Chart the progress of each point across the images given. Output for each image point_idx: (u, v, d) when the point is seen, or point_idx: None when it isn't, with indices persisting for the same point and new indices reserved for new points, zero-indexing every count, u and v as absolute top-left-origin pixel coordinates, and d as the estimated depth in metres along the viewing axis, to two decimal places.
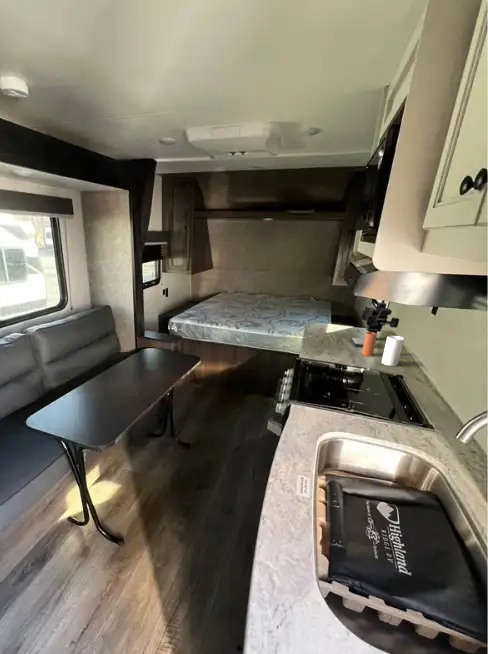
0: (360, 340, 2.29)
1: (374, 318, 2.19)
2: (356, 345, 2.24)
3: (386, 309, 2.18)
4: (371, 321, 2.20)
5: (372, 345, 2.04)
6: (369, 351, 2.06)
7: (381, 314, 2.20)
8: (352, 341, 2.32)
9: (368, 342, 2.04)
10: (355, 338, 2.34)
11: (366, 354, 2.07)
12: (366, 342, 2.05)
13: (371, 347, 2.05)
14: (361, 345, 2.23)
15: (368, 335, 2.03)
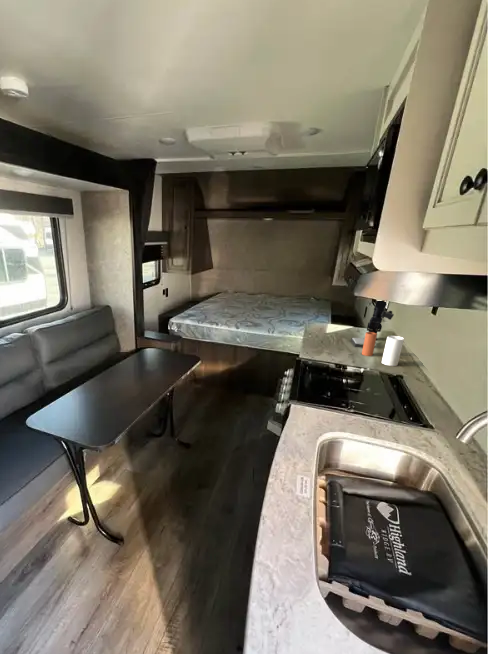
0: (360, 340, 2.29)
1: (379, 323, 2.07)
2: (356, 345, 2.24)
3: None
4: None
5: (372, 345, 2.04)
6: (369, 351, 2.06)
7: None
8: (352, 341, 2.32)
9: (368, 342, 2.04)
10: (355, 338, 2.34)
11: (366, 354, 2.07)
12: (366, 342, 2.05)
13: (371, 347, 2.05)
14: (361, 345, 2.23)
15: (368, 335, 2.03)
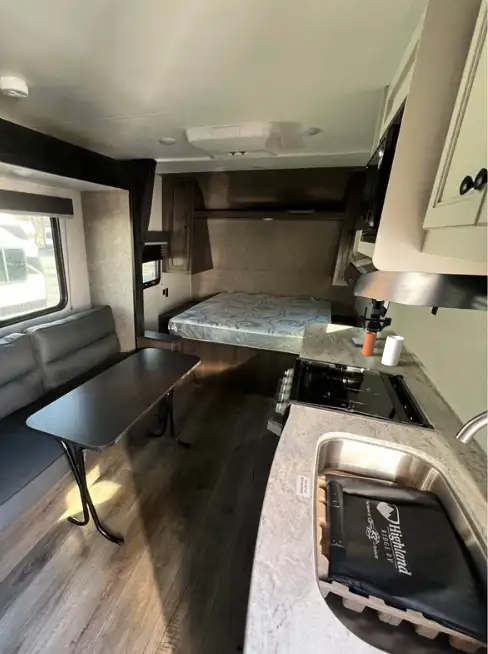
0: (360, 340, 2.29)
1: (363, 320, 2.14)
2: (356, 345, 2.24)
3: (377, 311, 2.07)
4: (361, 321, 2.17)
5: (372, 345, 2.04)
6: (369, 351, 2.06)
7: (373, 314, 2.11)
8: (352, 341, 2.32)
9: (368, 342, 2.04)
10: (355, 338, 2.34)
11: (366, 354, 2.07)
12: (366, 342, 2.05)
13: (371, 347, 2.05)
14: (361, 345, 2.23)
15: (368, 335, 2.03)
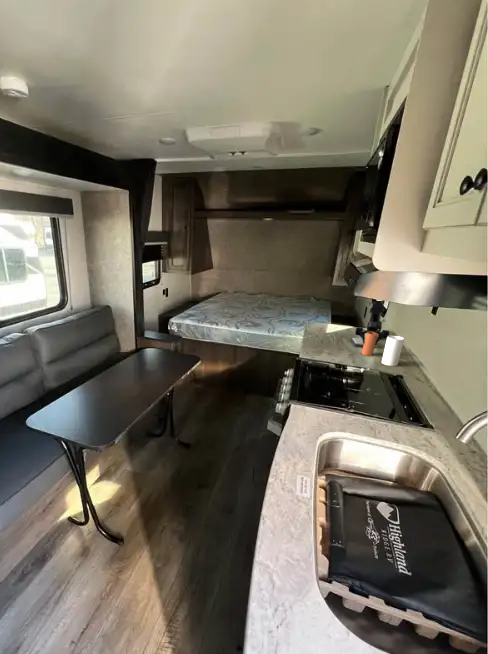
0: (360, 340, 2.29)
1: (363, 333, 2.08)
2: (356, 345, 2.24)
3: (375, 324, 2.02)
4: (361, 334, 2.11)
5: (372, 345, 2.04)
6: (369, 351, 2.06)
7: (370, 327, 2.06)
8: (352, 341, 2.32)
9: (369, 342, 2.04)
10: (355, 338, 2.34)
11: (366, 354, 2.07)
12: (366, 342, 2.05)
13: (371, 347, 2.05)
14: (361, 345, 2.23)
15: (369, 335, 2.03)
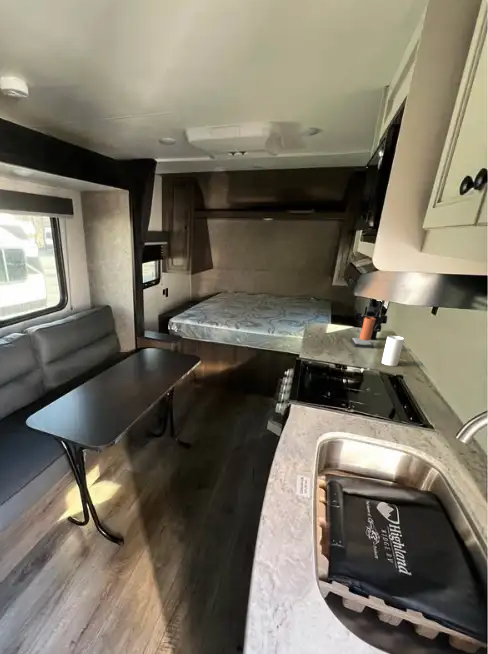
0: (360, 340, 2.29)
1: (361, 318, 2.13)
2: (356, 345, 2.24)
3: (372, 309, 2.06)
4: (359, 319, 2.16)
5: (370, 330, 2.09)
6: (366, 335, 2.11)
7: (368, 312, 2.11)
8: (352, 341, 2.32)
9: (366, 327, 2.09)
10: (355, 338, 2.34)
11: (363, 338, 2.13)
12: (364, 326, 2.10)
13: (368, 332, 2.10)
14: (361, 345, 2.23)
15: (366, 320, 2.08)
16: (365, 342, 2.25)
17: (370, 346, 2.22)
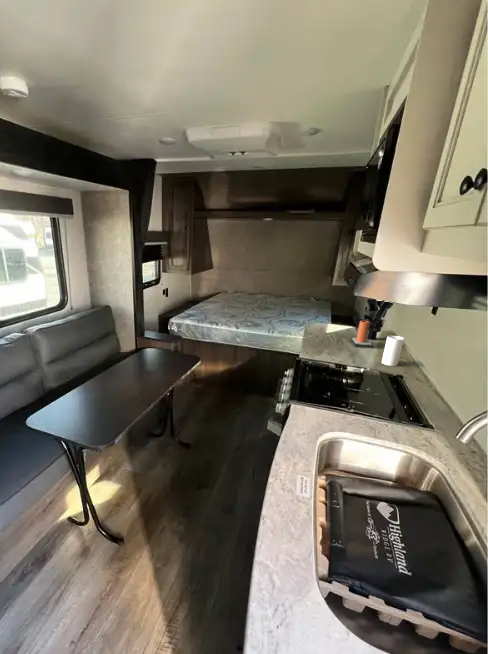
0: None
1: (356, 321, 2.27)
2: (356, 345, 2.24)
3: (368, 313, 2.19)
4: (355, 322, 2.30)
5: (364, 332, 2.22)
6: (362, 338, 2.24)
7: (365, 315, 2.23)
8: (352, 341, 2.32)
9: (361, 329, 2.23)
10: (355, 338, 2.34)
11: (359, 340, 2.26)
12: (359, 329, 2.24)
13: (363, 334, 2.23)
14: (361, 345, 2.23)
15: (361, 323, 2.22)
16: (365, 342, 2.25)
17: (370, 346, 2.22)
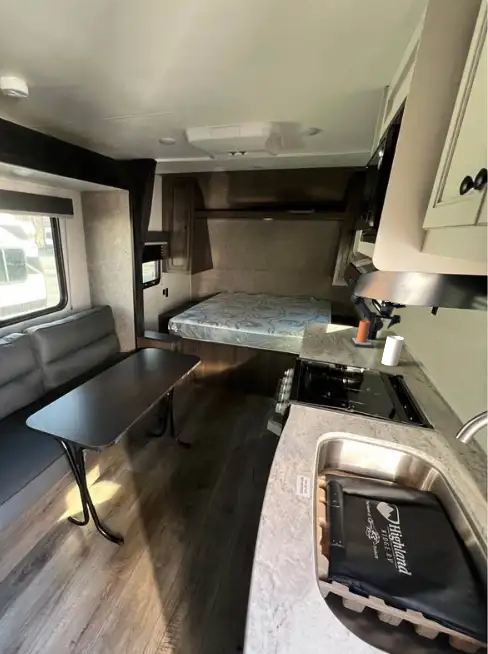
0: None
1: (373, 317, 2.25)
2: (356, 345, 2.24)
3: (385, 308, 2.17)
4: None
5: (364, 332, 2.22)
6: (362, 338, 2.24)
7: (382, 311, 2.21)
8: (352, 341, 2.32)
9: (361, 329, 2.23)
10: (355, 338, 2.34)
11: (359, 340, 2.26)
12: (359, 329, 2.24)
13: (363, 334, 2.23)
14: (361, 345, 2.23)
15: (361, 323, 2.22)
16: (365, 342, 2.25)
17: (370, 346, 2.22)
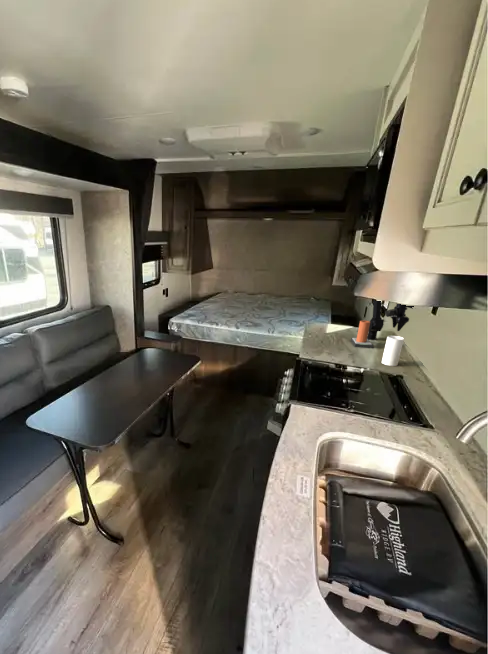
0: None
1: None
2: (356, 345, 2.24)
3: (386, 314, 2.15)
4: None
5: (364, 332, 2.22)
6: (362, 338, 2.24)
7: None
8: (352, 341, 2.32)
9: (361, 329, 2.23)
10: (355, 338, 2.34)
11: (359, 340, 2.26)
12: (359, 329, 2.24)
13: (363, 334, 2.23)
14: (361, 345, 2.23)
15: (361, 323, 2.22)
16: (365, 342, 2.25)
17: (370, 346, 2.22)
